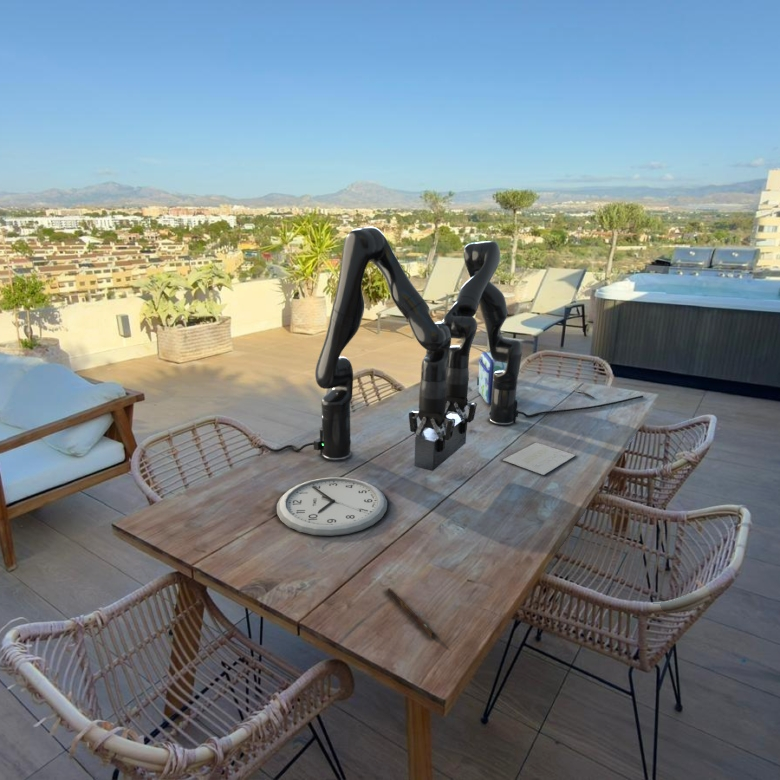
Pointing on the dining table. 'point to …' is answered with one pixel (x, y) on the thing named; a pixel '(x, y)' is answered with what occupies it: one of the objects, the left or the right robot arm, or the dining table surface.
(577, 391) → the fork
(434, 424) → the left robot arm
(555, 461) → the invitation card
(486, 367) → the lunch box
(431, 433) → the bar
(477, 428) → the dining table surface
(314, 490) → the wall clock
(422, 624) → the dark brown stick
